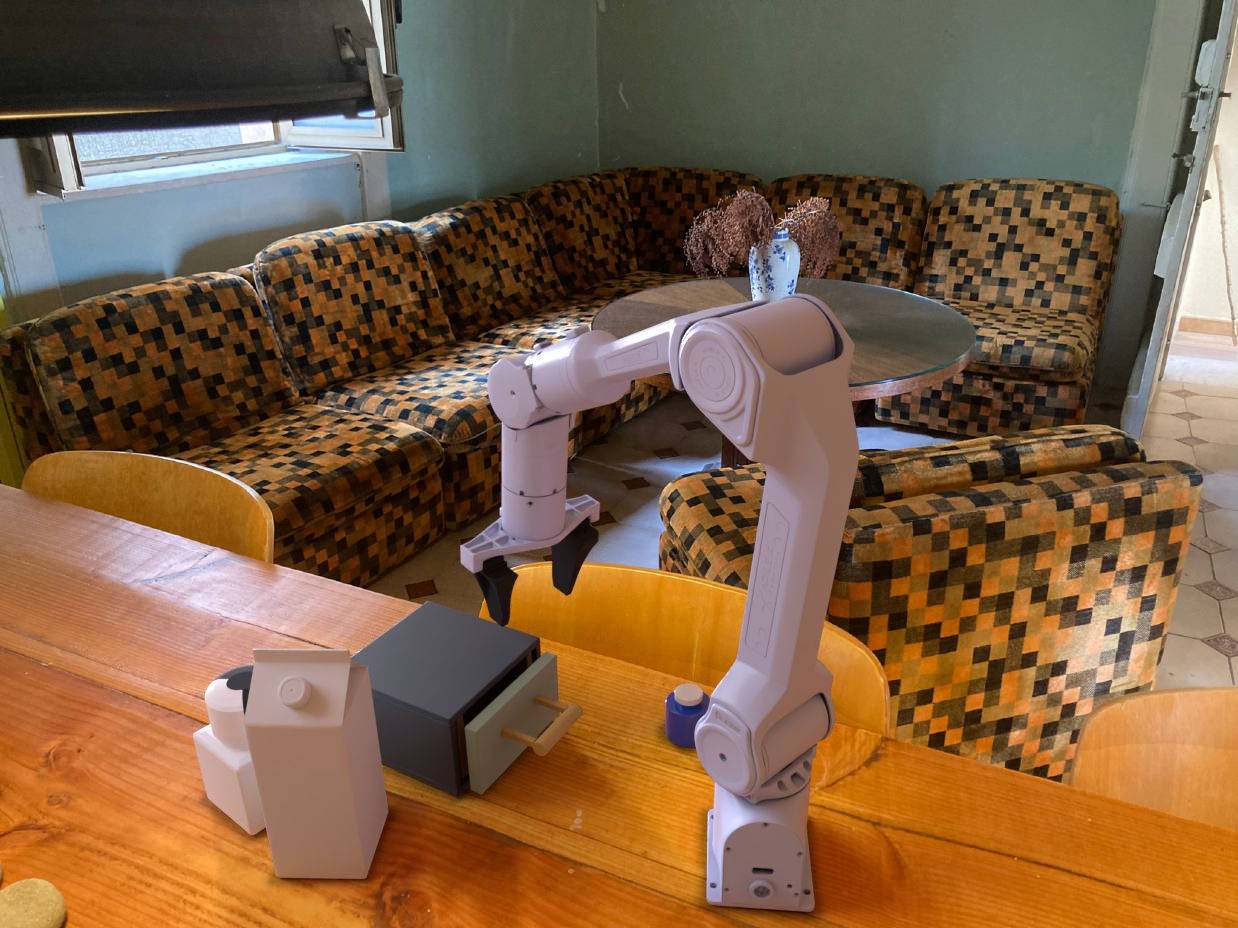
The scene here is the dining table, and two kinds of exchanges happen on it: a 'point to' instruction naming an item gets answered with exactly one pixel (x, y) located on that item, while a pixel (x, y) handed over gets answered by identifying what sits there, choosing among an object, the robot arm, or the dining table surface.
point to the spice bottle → (685, 713)
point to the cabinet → (435, 686)
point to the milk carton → (316, 761)
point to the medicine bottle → (229, 751)
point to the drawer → (513, 721)
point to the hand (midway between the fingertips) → (531, 604)
